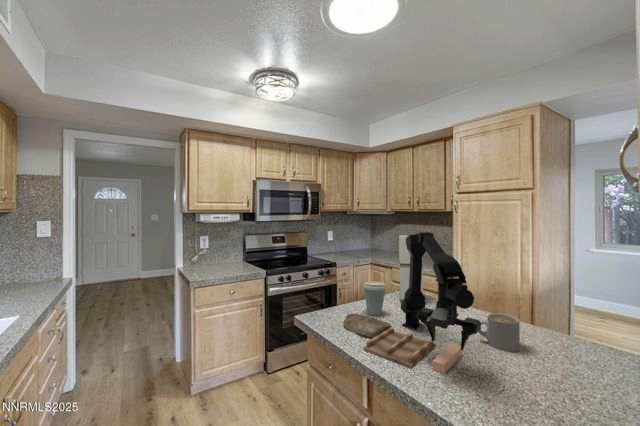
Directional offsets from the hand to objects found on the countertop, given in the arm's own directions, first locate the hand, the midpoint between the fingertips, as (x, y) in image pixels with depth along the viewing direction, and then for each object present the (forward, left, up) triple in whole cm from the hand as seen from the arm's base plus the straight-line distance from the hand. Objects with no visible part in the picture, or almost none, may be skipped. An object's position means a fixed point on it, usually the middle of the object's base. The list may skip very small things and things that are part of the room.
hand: (447, 345), depth 98 cm
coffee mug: (-25, +9, -6) cm, 27 cm away
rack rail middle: (+2, -16, -5) cm, 17 cm away
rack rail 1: (+2, -24, -5) cm, 25 cm away
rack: (+2, -16, -5) cm, 17 cm away
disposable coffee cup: (-22, -42, -5) cm, 48 cm away
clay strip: (0, 0, -6) cm, 6 cm away
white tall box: (-51, -38, -5) cm, 64 cm away
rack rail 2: (+2, -8, -5) cm, 10 cm away
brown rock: (-4, -36, -6) cm, 37 cm away
